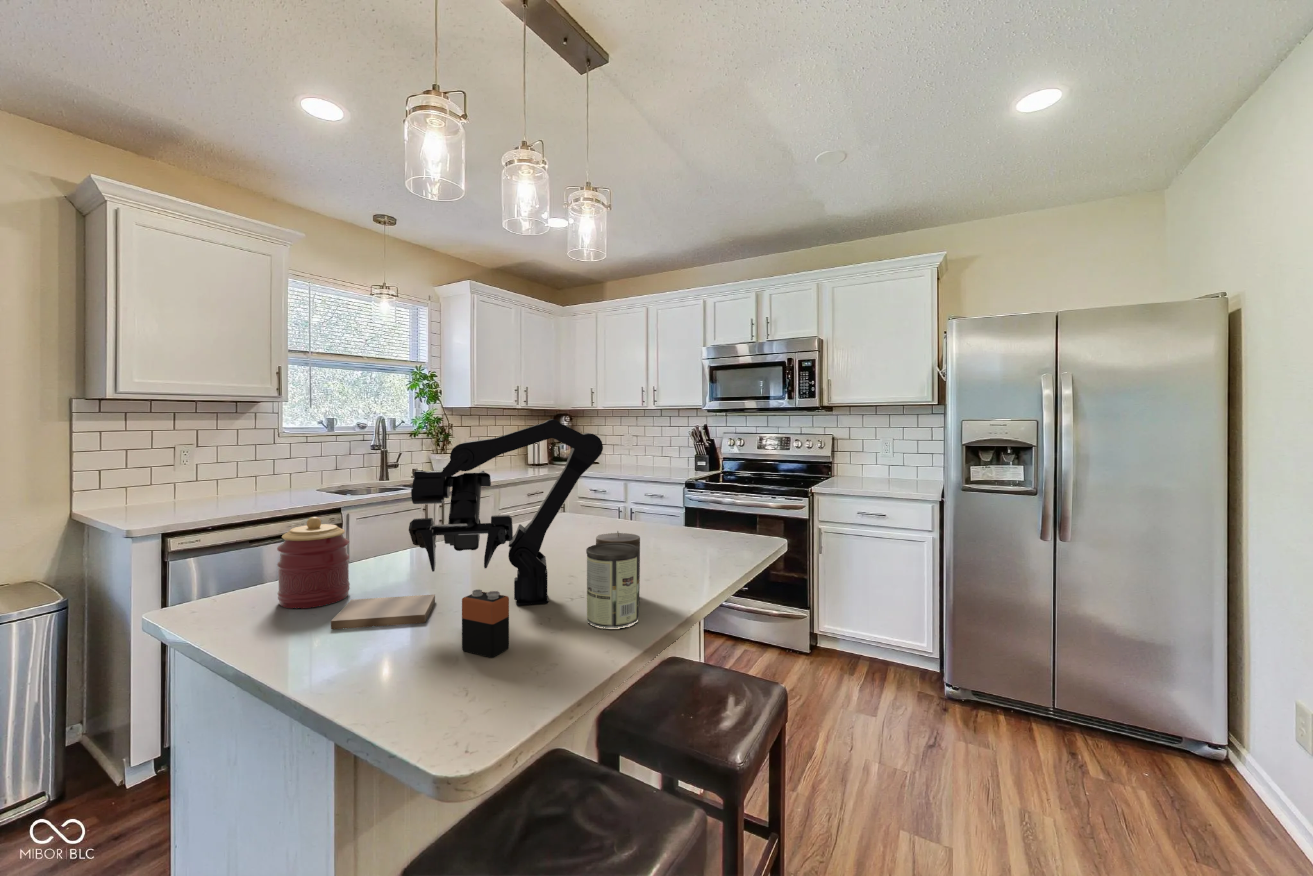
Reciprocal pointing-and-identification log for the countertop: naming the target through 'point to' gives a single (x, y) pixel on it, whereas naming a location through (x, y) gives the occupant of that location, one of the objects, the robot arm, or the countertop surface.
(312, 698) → the countertop surface
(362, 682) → the countertop surface
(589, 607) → the coffee can
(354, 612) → the walnut cutting board
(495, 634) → the battery
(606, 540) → the pillar candle
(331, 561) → the canister
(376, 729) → the countertop surface
